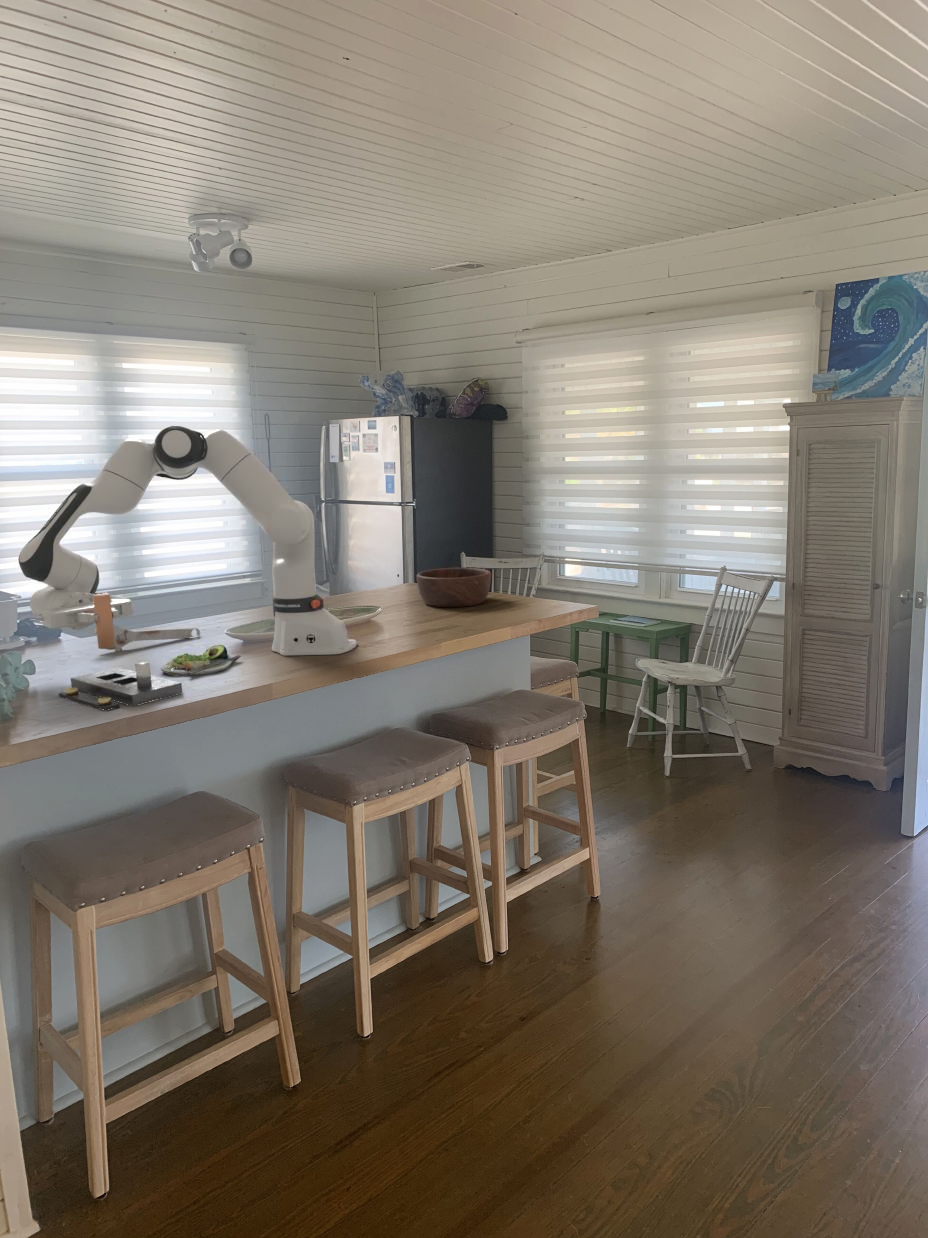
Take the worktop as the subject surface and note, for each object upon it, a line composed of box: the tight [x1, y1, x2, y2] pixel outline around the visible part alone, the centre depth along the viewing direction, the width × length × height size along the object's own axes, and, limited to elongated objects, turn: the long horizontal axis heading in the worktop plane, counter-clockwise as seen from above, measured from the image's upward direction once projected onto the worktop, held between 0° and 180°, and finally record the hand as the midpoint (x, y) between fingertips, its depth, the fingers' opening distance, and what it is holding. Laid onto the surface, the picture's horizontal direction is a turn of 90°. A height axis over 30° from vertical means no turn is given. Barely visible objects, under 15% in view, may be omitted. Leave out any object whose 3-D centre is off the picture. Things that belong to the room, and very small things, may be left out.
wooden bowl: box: [416, 567, 492, 608], centre depth 301 cm, size 25×25×10 cm
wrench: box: [93, 624, 201, 652], centre depth 250 cm, size 8×2×30 cm
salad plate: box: [160, 644, 242, 676], centre depth 221 cm, size 19×18×5 cm
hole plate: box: [58, 661, 183, 711], centre depth 200 cm, size 26×17×8 cm, turn 51°
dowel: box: [93, 593, 115, 650], centre depth 204 cm, size 4×4×12 cm
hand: (105, 616), depth 203 cm, fingers closed on dowel, 4 cm apart
